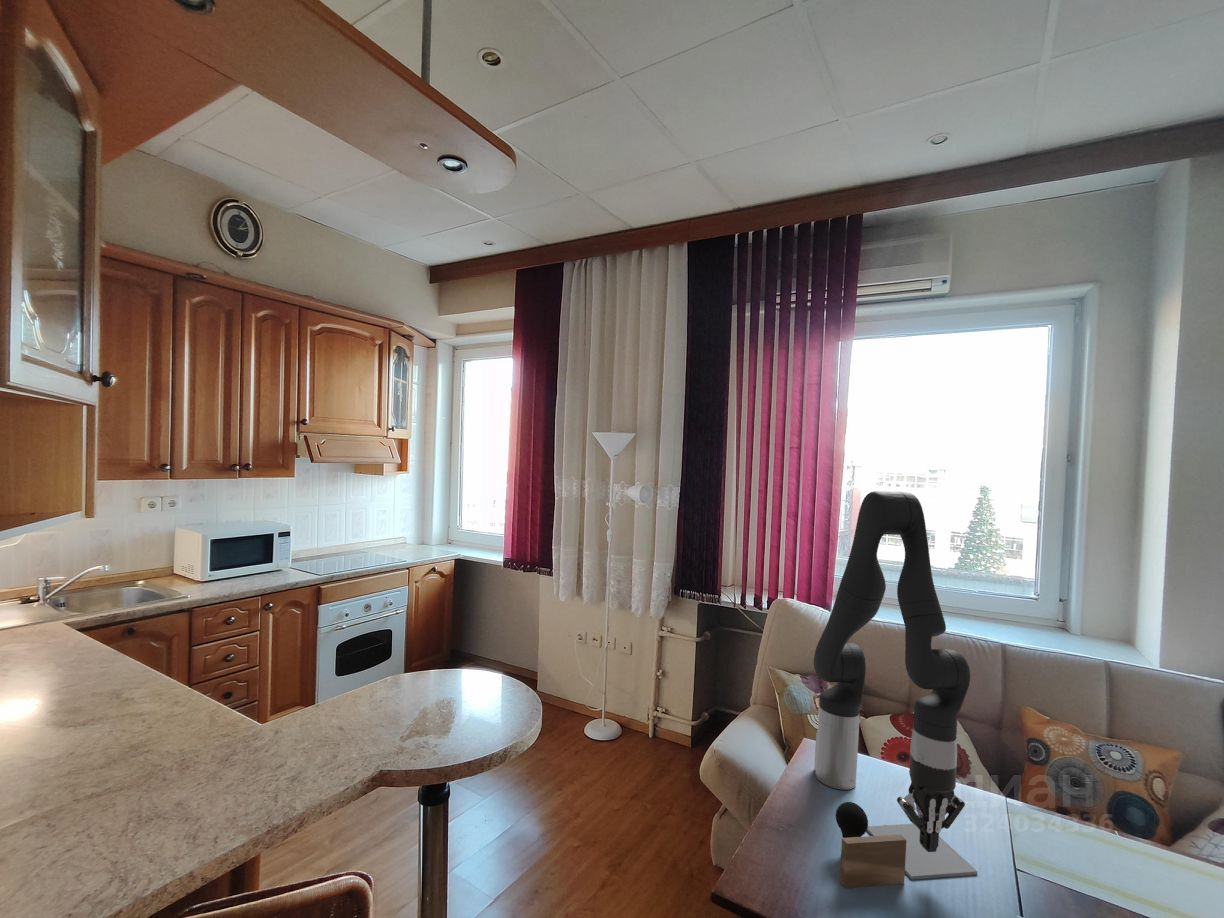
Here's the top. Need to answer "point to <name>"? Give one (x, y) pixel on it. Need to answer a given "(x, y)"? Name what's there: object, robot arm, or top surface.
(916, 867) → the rubber mat
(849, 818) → the light bulb
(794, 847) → the top surface
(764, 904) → the top surface
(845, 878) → the wooden toy block
